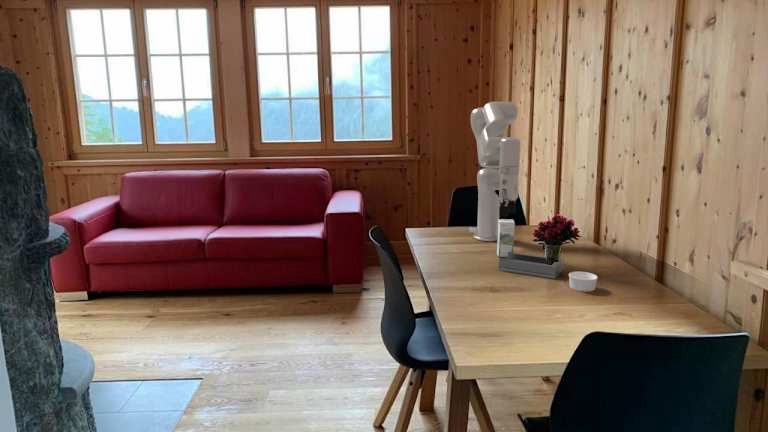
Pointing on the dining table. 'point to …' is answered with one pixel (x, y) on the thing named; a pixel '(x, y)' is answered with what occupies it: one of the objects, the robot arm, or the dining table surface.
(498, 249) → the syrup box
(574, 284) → the ramekin
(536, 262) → the track
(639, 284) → the dining table surface
